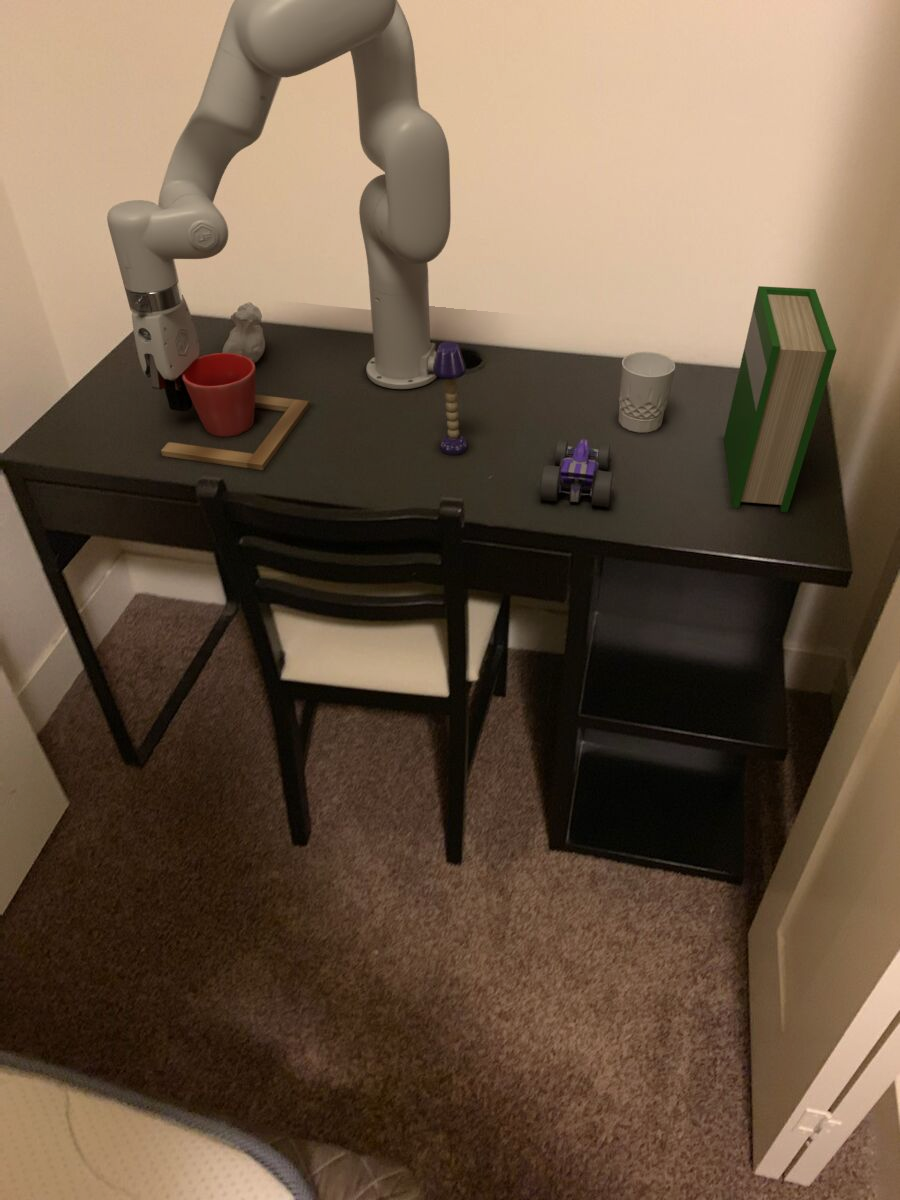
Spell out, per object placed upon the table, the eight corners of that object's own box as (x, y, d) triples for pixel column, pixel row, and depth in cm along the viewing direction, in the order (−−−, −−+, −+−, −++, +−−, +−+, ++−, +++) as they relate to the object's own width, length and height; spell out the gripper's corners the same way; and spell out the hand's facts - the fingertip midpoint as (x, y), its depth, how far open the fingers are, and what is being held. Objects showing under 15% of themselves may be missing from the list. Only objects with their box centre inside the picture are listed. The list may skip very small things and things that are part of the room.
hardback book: (787, 512, 122) (836, 349, 106) (732, 507, 123) (772, 346, 107) (773, 443, 135) (815, 289, 119) (723, 439, 136) (758, 286, 120)
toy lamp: (444, 459, 133) (442, 356, 122) (430, 444, 136) (427, 342, 125) (472, 450, 135) (473, 348, 123) (458, 436, 138) (457, 334, 127)
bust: (236, 387, 154) (266, 343, 147) (199, 359, 152) (227, 313, 145) (263, 356, 163) (292, 313, 156) (228, 329, 161) (256, 284, 154)
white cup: (670, 415, 142) (681, 357, 135) (657, 439, 136) (667, 380, 130) (622, 405, 144) (630, 347, 137) (608, 428, 139) (615, 370, 132)
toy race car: (615, 454, 133) (620, 416, 129) (607, 514, 123) (612, 474, 118) (551, 448, 135) (554, 410, 130) (538, 506, 124) (541, 467, 120)
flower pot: (262, 440, 138) (252, 383, 131) (190, 444, 137) (176, 388, 130) (266, 405, 145) (256, 350, 139) (198, 409, 145) (185, 354, 138)
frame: (310, 406, 145) (309, 400, 144) (263, 470, 132) (262, 464, 131) (217, 394, 148) (216, 389, 148) (162, 456, 135) (160, 450, 134)
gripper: (152, 320, 121) (181, 436, 134) (201, 276, 132) (224, 388, 144) (103, 314, 123) (136, 430, 135) (155, 272, 134) (181, 383, 146)
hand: (181, 408), depth 140 cm, fingers closed
